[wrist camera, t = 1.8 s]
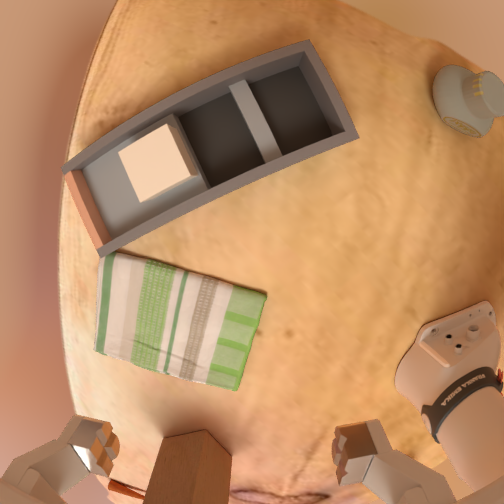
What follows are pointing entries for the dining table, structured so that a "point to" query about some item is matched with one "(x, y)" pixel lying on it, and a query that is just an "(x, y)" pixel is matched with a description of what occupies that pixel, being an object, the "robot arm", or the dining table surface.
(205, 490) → the wooden block
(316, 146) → the box
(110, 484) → the purple and brown maraca
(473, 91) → the air freshener
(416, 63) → the dining table surface
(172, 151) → the cream block
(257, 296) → the dish towel
